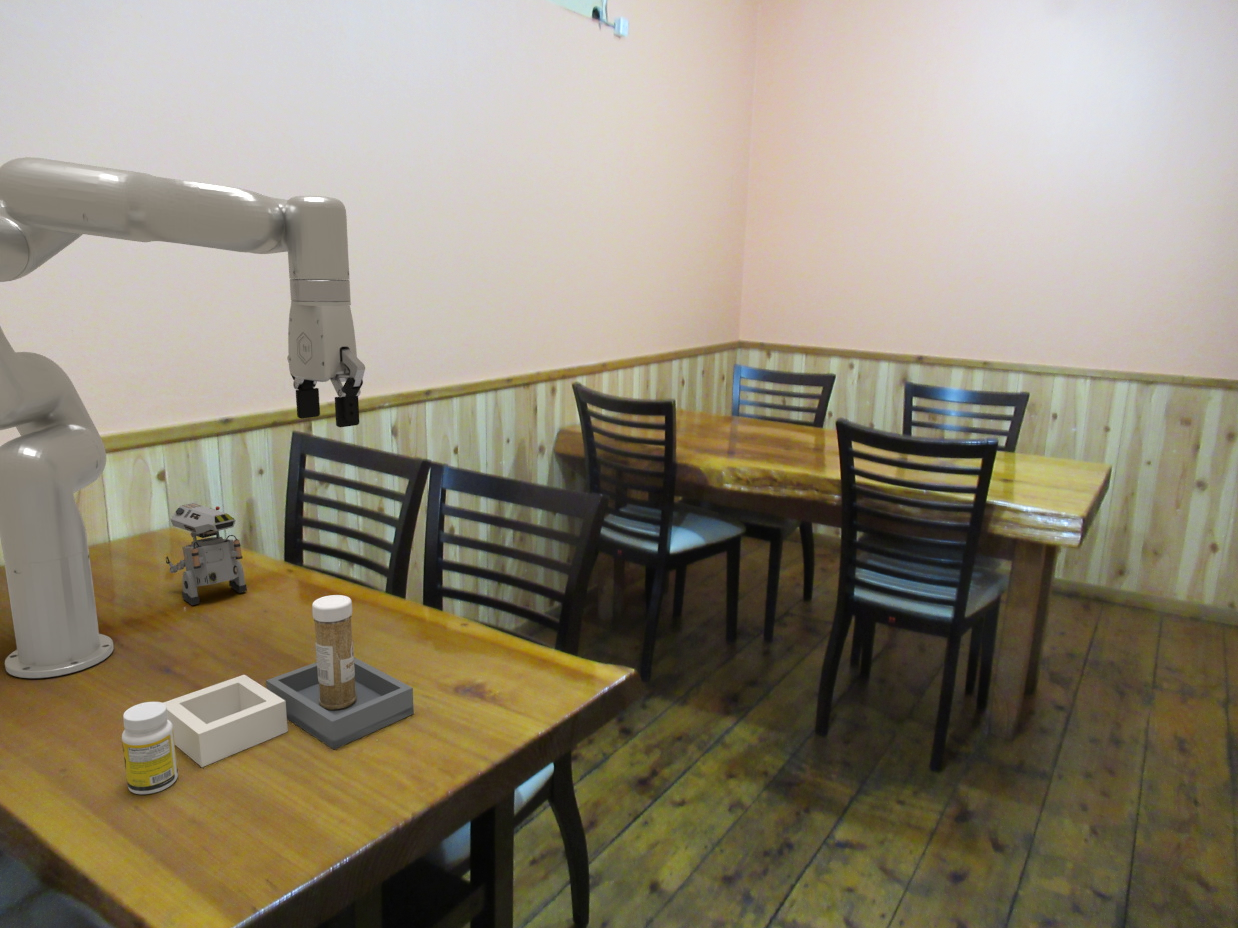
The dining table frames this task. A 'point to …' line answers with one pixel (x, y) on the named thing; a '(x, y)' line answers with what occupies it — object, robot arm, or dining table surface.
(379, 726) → the charcoal tray
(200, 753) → the frame
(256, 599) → the dining table surface
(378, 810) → the dining table surface
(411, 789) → the dining table surface
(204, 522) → the figurine
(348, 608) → the sprinkles bottle
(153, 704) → the supplement bottle
